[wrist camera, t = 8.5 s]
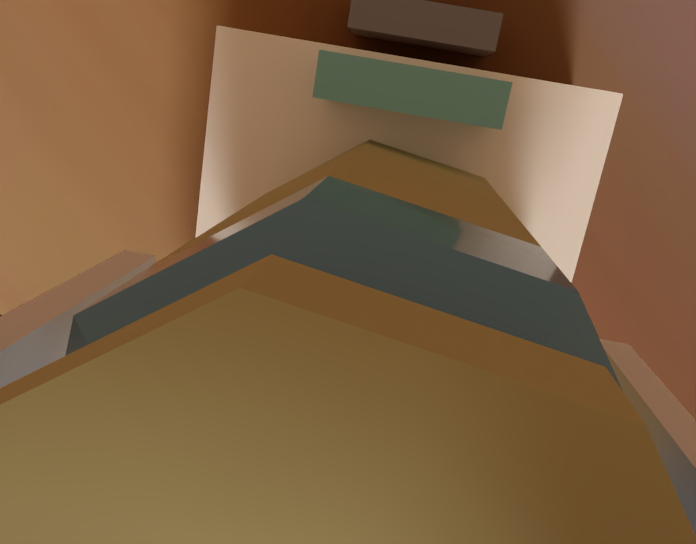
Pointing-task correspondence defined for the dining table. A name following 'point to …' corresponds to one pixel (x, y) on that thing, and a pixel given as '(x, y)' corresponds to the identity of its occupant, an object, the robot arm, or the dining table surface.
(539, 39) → the dining table surface
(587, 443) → the jar
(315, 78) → the block
